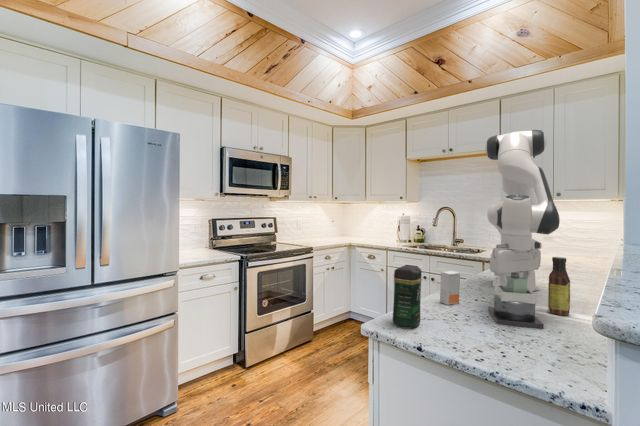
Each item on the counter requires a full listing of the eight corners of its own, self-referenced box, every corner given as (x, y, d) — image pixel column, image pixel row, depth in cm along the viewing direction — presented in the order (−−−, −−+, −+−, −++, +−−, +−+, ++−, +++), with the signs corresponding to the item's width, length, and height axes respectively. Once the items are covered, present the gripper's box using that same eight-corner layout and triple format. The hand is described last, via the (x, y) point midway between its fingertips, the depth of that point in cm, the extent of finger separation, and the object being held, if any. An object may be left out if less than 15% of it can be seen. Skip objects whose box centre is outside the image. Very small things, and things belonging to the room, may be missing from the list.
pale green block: (502, 296, 111) (503, 271, 111) (515, 295, 112) (516, 271, 111) (513, 300, 106) (514, 274, 105) (526, 300, 106) (527, 274, 106)
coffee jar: (415, 331, 97) (416, 269, 97) (389, 325, 101) (390, 266, 101) (423, 321, 106) (424, 264, 105) (399, 316, 110) (400, 262, 109)
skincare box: (447, 305, 123) (448, 273, 122) (439, 302, 127) (440, 271, 126) (459, 303, 125) (460, 272, 125) (451, 300, 129) (451, 270, 129)
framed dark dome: (487, 310, 117) (488, 282, 117) (529, 314, 114) (529, 286, 113) (496, 324, 104) (497, 293, 104) (543, 329, 100) (544, 296, 100)
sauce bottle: (573, 317, 112) (575, 259, 111) (553, 315, 113) (555, 258, 112) (563, 310, 118) (565, 256, 117) (544, 309, 119) (545, 255, 119)
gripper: (502, 245, 101) (501, 290, 102) (545, 243, 109) (543, 284, 110) (485, 243, 107) (484, 285, 107) (526, 241, 115) (525, 280, 115)
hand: (514, 284), depth 109 cm, fingers open, 8 cm apart
